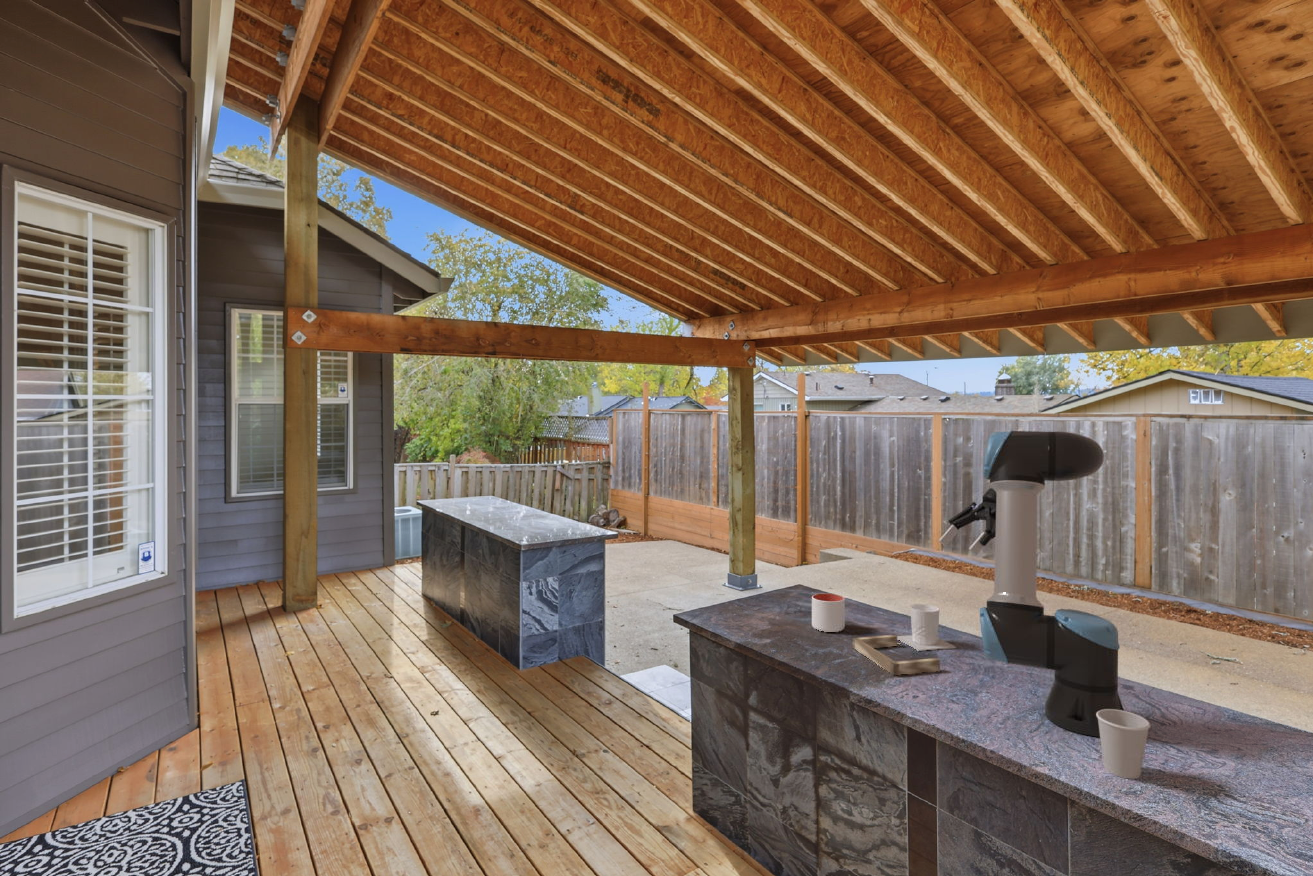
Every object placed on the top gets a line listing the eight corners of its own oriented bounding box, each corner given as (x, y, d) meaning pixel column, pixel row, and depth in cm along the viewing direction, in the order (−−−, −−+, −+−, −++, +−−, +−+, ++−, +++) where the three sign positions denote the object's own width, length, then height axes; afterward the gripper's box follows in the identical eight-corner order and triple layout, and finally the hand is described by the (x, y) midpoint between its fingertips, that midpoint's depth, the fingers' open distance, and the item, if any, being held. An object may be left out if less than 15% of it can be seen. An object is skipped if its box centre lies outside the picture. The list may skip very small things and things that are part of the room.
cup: (805, 626, 215) (805, 595, 214) (830, 622, 219) (830, 591, 219) (825, 635, 206) (825, 603, 205) (851, 631, 210) (851, 599, 210)
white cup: (934, 637, 202) (934, 604, 202) (942, 646, 194) (943, 612, 194) (907, 636, 203) (907, 603, 202) (914, 645, 195) (914, 611, 195)
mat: (955, 648, 194) (955, 646, 194) (918, 651, 191) (918, 649, 191) (929, 635, 206) (929, 633, 206) (894, 638, 203) (894, 636, 203)
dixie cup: (1127, 759, 131) (1128, 708, 131) (1160, 782, 123) (1161, 728, 123) (1085, 759, 131) (1086, 709, 131) (1115, 783, 123) (1116, 728, 122)
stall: (894, 644, 197) (894, 634, 197) (939, 671, 177) (939, 659, 177) (852, 648, 194) (852, 638, 194) (893, 675, 174) (893, 664, 174)
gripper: (1040, 509, 192) (994, 565, 189) (979, 499, 216) (938, 548, 213) (1025, 491, 190) (978, 547, 187) (965, 483, 215) (923, 532, 212)
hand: (956, 547), depth 200 cm, fingers open, 13 cm apart
